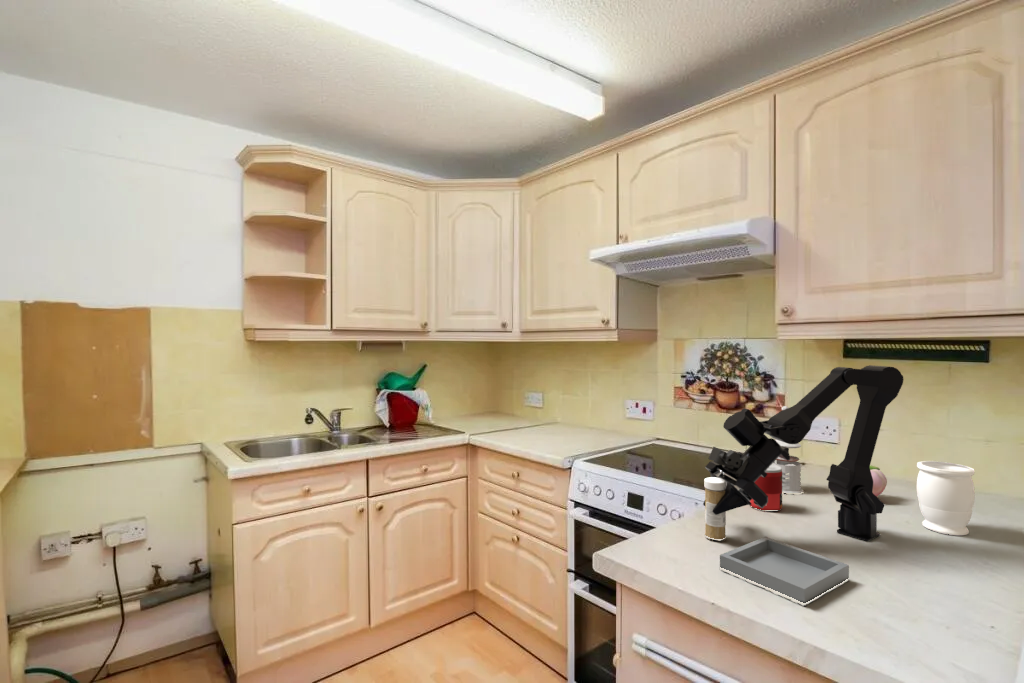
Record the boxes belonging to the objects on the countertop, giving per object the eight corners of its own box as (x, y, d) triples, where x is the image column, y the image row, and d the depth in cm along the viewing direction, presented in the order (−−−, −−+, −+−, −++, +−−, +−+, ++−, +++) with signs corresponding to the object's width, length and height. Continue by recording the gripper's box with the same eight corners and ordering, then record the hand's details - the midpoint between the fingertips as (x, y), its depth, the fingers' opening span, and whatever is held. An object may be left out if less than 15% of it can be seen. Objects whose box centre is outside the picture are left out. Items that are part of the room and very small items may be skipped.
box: (848, 580, 93) (848, 564, 93) (804, 606, 84) (804, 589, 84) (765, 550, 106) (765, 536, 106) (719, 570, 98) (719, 554, 98)
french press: (785, 496, 142) (784, 409, 142) (755, 484, 153) (754, 403, 153) (812, 493, 145) (812, 407, 144) (781, 482, 156) (781, 402, 156)
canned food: (788, 512, 129) (787, 470, 129) (757, 512, 129) (756, 470, 129) (773, 502, 137) (773, 462, 137) (743, 502, 137) (743, 462, 137)
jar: (916, 517, 125) (916, 458, 124) (973, 527, 118) (972, 464, 118) (916, 530, 116) (916, 466, 116) (976, 542, 110) (976, 474, 110)
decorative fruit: (857, 492, 145) (857, 457, 145) (890, 499, 139) (890, 463, 139) (843, 498, 140) (843, 462, 140) (877, 506, 133) (877, 469, 133)
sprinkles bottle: (711, 532, 116) (710, 475, 116) (730, 538, 113) (729, 479, 113) (700, 537, 113) (700, 478, 113) (719, 544, 110) (719, 483, 110)
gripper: (712, 428, 122) (669, 473, 122) (753, 444, 104) (702, 498, 103) (744, 459, 123) (700, 505, 122) (790, 480, 104) (739, 535, 104)
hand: (709, 509), depth 113 cm, fingers closed on sprinkles bottle, 4 cm apart
